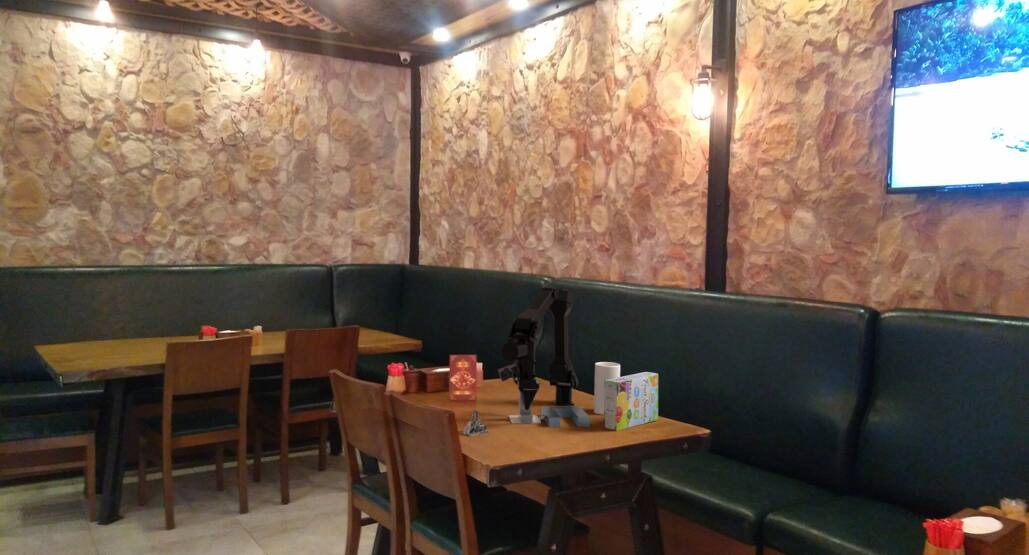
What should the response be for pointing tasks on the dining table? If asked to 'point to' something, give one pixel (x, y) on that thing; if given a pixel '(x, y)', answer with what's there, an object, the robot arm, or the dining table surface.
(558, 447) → the dining table surface
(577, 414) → the frame
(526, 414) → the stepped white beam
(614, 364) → the cup
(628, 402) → the snack box
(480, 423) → the house of cards
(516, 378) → the robot arm
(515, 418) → the tile
